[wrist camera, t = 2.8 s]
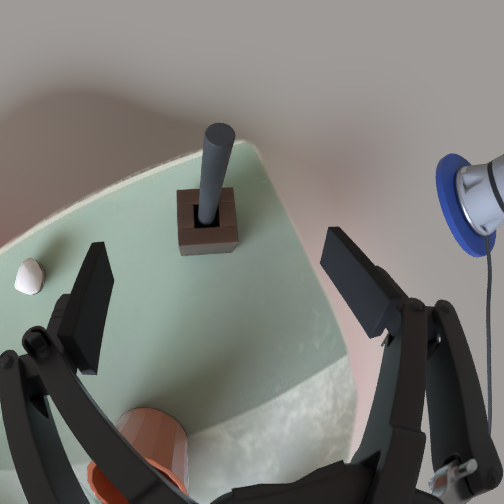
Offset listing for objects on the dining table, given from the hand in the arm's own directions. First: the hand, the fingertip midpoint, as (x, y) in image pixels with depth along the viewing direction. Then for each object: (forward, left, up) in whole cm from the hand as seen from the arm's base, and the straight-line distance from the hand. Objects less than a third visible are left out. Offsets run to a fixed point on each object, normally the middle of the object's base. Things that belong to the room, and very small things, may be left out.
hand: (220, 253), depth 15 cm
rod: (+5, -2, -15) cm, 16 cm away
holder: (+5, -2, -15) cm, 16 cm away
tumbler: (-13, +16, -15) cm, 25 cm away
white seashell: (+10, +20, -15) cm, 27 cm away
